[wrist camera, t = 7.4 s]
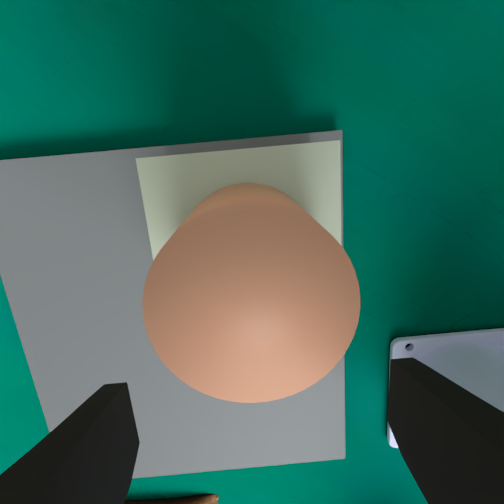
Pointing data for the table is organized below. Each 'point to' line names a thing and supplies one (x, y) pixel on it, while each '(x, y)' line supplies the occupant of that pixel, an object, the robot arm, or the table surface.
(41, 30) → the table surface
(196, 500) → the sunglasses case
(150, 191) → the sage top slab
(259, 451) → the slate board
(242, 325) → the terracotta cylinder
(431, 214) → the table surface
